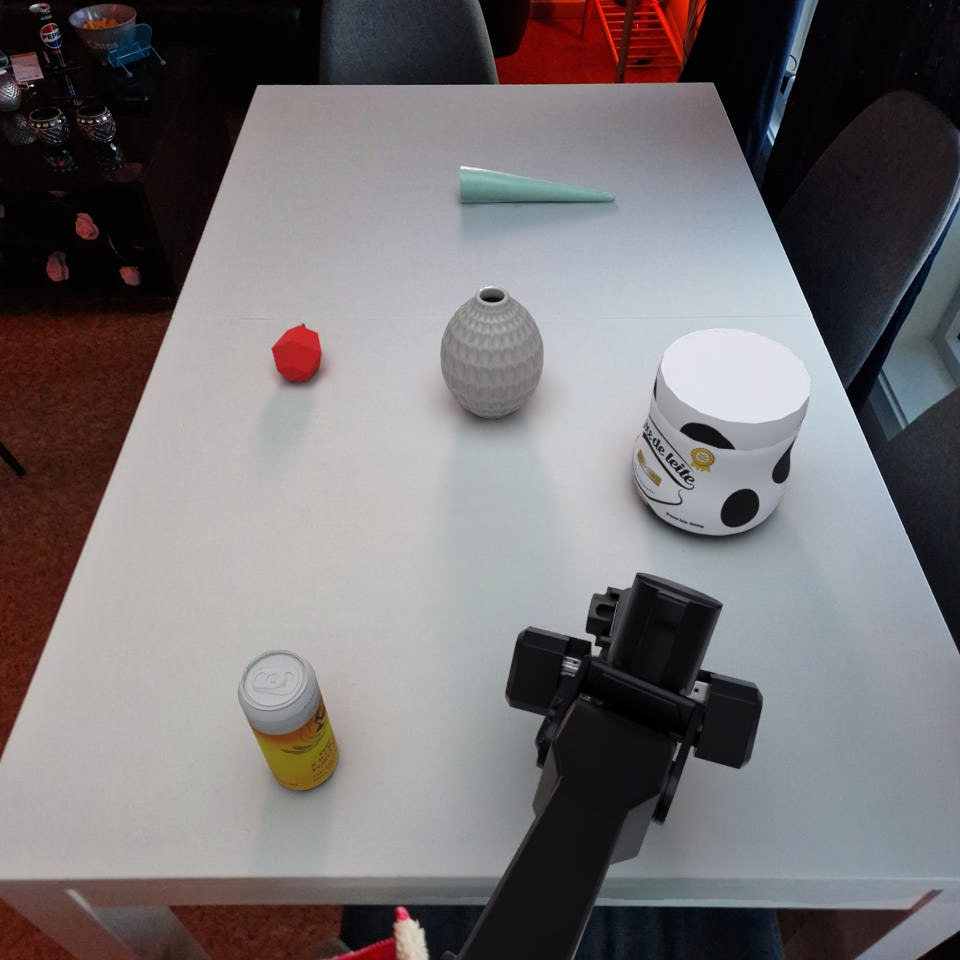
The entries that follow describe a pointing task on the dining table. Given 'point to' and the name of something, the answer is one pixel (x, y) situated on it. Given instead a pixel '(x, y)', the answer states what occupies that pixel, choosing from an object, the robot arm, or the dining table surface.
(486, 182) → the long green cone
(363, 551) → the dining table surface
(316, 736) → the beer can
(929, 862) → the dining table surface
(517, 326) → the vase
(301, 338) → the apple
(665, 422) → the milk container
